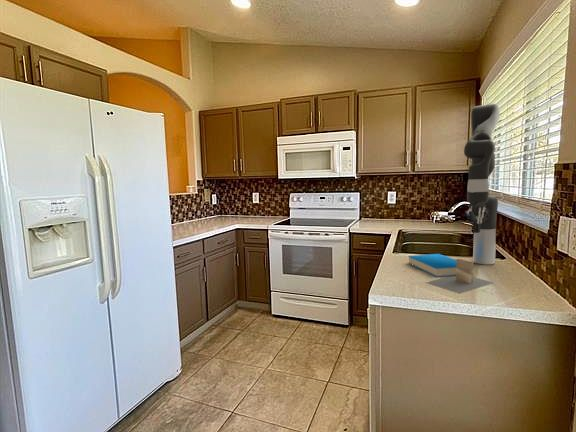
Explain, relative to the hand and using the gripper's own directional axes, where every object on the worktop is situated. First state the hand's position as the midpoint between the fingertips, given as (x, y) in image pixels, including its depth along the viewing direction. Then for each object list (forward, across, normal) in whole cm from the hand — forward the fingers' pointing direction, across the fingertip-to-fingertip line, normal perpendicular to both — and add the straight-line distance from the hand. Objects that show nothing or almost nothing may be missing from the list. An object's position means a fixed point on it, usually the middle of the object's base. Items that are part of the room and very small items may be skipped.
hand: (476, 232), depth 135 cm
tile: (+20, +7, 0) cm, 21 cm away
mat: (+20, +10, 0) cm, 22 cm away
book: (+20, -1, -18) cm, 27 cm away
